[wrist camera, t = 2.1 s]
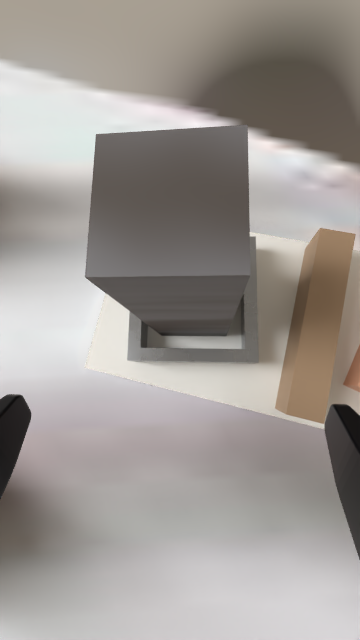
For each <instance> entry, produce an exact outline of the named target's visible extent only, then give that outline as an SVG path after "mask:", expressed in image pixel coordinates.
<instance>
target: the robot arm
mask: <svg viewBox="0 0 360 640" xmlns="http://www.w3.org/2000/svg"><path fill="white" fill-rule="evenodd" d="M30 420H31V411H30V409H29V407H28V405H27V403H26V401H25V399H24V397H23V396H22V395H18V394H9V395H6V396H4V397H3V398H1V399H0V499H1V497H2V494H3V492H4V490H5V488H6V485H7V483H8V481H9V479H10V477H11V474H12V472H13V469H14V467H15V464H16V462H17V459H18V456H19V453H20V450H21V447H22V444H23V441H24V438H25V435H26V432H27V429H28V426H29V423H30ZM324 428H325V434H326V439H327V444H328V449H329V454H330V458H331V463H332V468H333V473H334V478H335V482H336V487H337V490H338V493H339V497H340V500H341V503H342V506H343V509H344V512H345V515H346V519H347V522H348V525H349V528H350V531H351V534H352V537H353V540H354V544H355V547H356V550H357V553H358V556H359V559H360V415H359V414H358V413H357V412H356V411H355V410H354V409H352V408H351V407H350V406H349V405H347V404H332V405H331V406H330V408H329V411H328V414H327V417H326V420H325V424H324Z"/></svg>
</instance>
